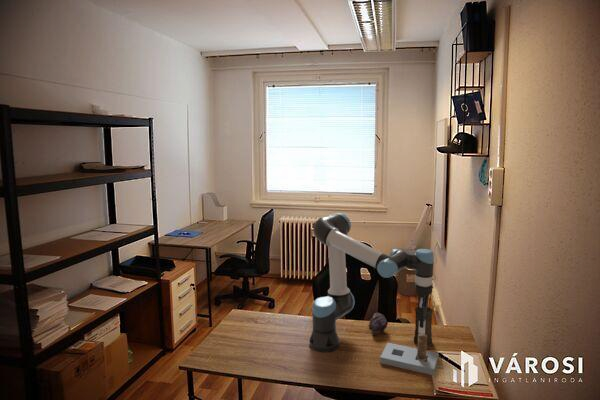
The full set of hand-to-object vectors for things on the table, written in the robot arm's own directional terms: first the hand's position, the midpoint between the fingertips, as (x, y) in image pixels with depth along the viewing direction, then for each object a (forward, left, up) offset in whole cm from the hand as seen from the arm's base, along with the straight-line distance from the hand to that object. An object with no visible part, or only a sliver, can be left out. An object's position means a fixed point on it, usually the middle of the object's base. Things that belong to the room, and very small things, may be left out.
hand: (421, 332), depth 188 cm
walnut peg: (0, 0, -15) cm, 15 cm away
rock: (-26, +22, -16) cm, 37 cm away
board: (-5, 0, -15) cm, 16 cm away
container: (-2, +19, -16) cm, 24 cm away
